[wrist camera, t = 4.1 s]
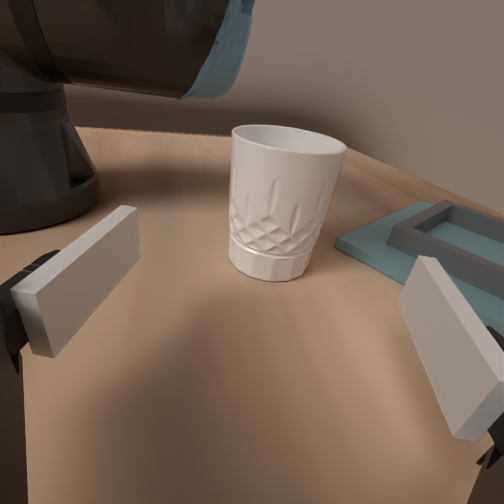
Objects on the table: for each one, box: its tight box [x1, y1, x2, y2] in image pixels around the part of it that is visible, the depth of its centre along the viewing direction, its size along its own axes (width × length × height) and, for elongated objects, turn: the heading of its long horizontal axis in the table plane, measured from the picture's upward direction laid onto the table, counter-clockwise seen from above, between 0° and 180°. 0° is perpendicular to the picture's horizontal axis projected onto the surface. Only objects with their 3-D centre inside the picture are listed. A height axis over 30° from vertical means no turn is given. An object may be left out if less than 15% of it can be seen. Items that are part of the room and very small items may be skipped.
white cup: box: [229, 125, 347, 282], centre depth 24 cm, size 8×8×10 cm
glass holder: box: [334, 200, 504, 337], centre depth 29 cm, size 20×20×3 cm
